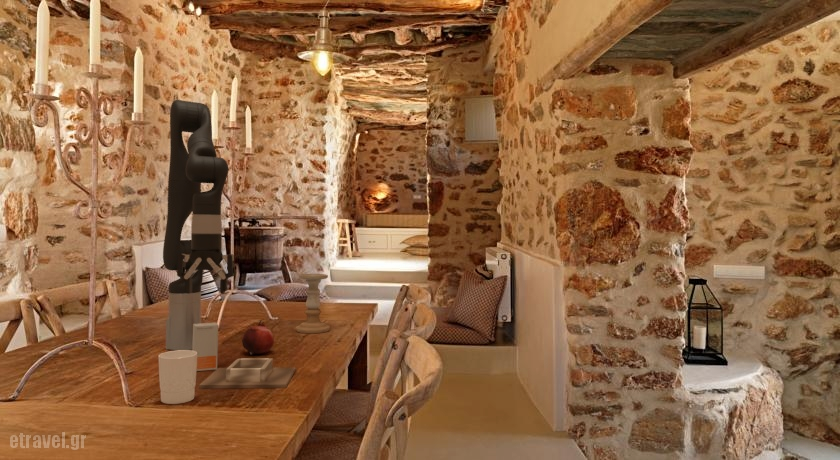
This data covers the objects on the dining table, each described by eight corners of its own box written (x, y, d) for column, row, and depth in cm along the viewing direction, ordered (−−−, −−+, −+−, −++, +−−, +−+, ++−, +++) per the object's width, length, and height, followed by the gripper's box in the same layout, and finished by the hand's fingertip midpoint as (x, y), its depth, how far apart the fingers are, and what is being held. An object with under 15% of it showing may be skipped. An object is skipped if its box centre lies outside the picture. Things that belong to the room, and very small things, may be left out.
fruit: (240, 357, 162) (240, 323, 162) (243, 350, 172) (243, 317, 172) (273, 356, 164) (273, 322, 164) (274, 349, 174) (274, 317, 174)
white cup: (172, 407, 118) (173, 360, 118) (150, 401, 122) (150, 355, 122) (204, 398, 125) (205, 353, 125) (182, 392, 129) (182, 348, 129)
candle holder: (326, 334, 199) (327, 276, 198) (291, 333, 199) (292, 276, 199) (332, 327, 211) (333, 273, 211) (299, 327, 211) (300, 273, 211)
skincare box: (193, 372, 146) (193, 326, 146) (191, 368, 150) (192, 323, 150) (218, 369, 149) (218, 324, 149) (215, 366, 153) (216, 321, 153)
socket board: (198, 388, 132) (198, 372, 132) (218, 370, 148) (218, 356, 148) (285, 387, 133) (285, 371, 133) (295, 370, 149) (295, 355, 149)
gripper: (173, 232, 145) (173, 295, 145) (230, 232, 146) (230, 295, 146) (183, 231, 152) (183, 291, 152) (237, 232, 153) (237, 291, 154)
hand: (206, 293), depth 149 cm, fingers open, 8 cm apart
